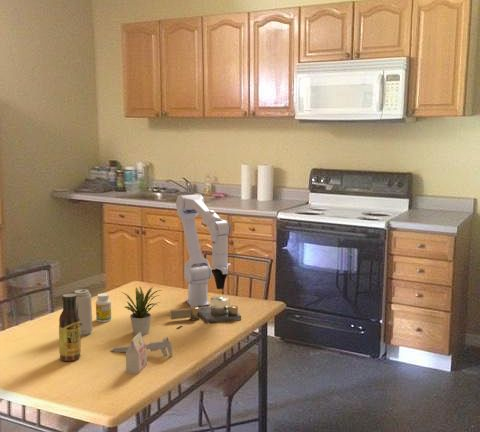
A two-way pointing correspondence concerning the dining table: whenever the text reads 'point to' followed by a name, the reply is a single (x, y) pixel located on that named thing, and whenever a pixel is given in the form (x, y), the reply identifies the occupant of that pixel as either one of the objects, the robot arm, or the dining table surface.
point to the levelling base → (216, 317)
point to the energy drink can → (84, 310)
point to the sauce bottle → (69, 330)
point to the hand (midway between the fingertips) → (220, 288)
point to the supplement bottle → (103, 308)
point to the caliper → (151, 347)
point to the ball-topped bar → (186, 313)
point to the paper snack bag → (136, 355)
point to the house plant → (141, 311)
